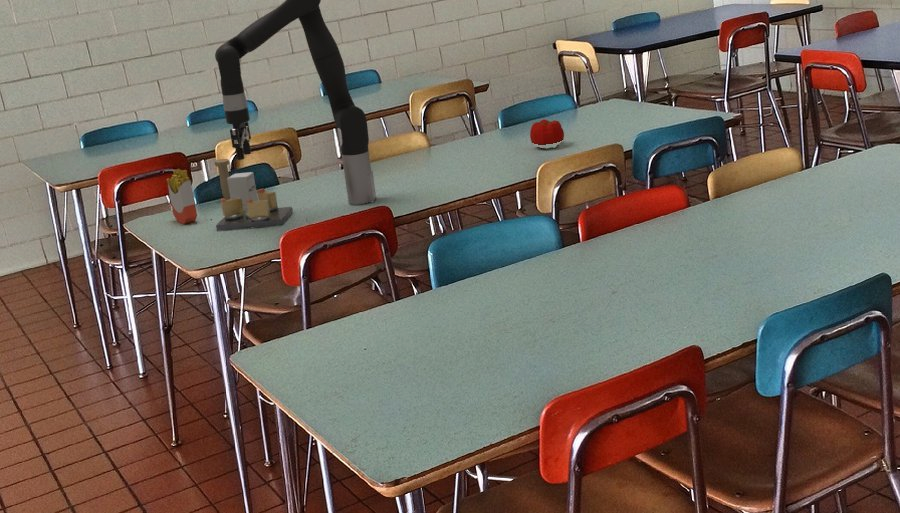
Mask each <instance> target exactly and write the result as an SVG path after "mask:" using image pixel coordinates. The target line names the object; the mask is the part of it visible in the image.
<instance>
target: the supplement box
mask: <svg viewBox="0 0 900 513" xmlns="http://www.w3.org/2000/svg"><path fill="white" fill-rule="evenodd" d="M229 176H230V177H229V178H227V182H228V187H229V193H230V199H233V198H238V197H240V198H241V199H242V204H243V210H244V211H248V207H247V200H248V199H252V201H259V200H258V194H257V186H256V181H255V175H254V172H253V171H252V172H251V171H249V172H240V173H239V172H237V173H233V174H232V175H229Z"/></svg>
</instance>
